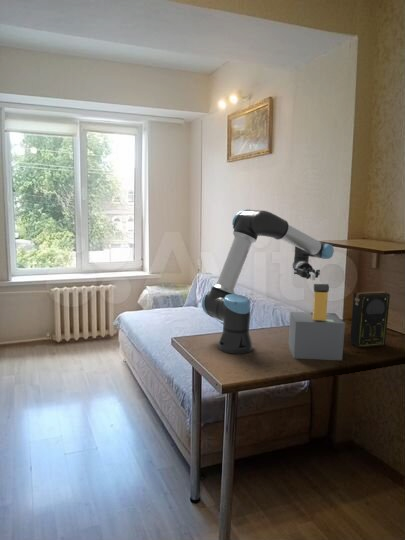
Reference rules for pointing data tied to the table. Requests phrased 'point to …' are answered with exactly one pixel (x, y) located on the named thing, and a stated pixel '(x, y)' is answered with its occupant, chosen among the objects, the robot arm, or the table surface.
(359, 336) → the voltmeter
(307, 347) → the box
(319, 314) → the yellow tall block
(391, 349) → the table surface
